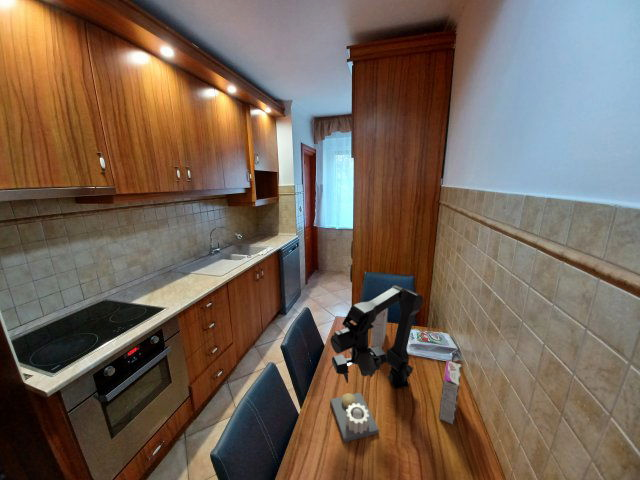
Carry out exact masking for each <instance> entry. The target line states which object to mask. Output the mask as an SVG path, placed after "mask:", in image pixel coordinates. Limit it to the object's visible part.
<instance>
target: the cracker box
mask: <svg viewBox="0 0 640 480" xmlns="http://www.w3.org/2000/svg"><path fill="white" fill-rule="evenodd" d="M388 308H389V307H388ZM388 308H387V309H385V310H384V311H382V312H380V313H379V314H378V315H377V316H376V319H375V321H374V322H373V323H372V325H373V326H374V327H373V328H371V345H370V346H371V348H373V347H378V346H379V347H381V349H382V350H383V347H384V344H385V341H386V340H385V339H386V336H387V325H388V324H387V323H388V312H389V309H388Z"/></svg>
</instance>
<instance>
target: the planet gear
mask: <svg viewBox="0 0 640 480" xmlns="http://www.w3.org/2000/svg"><path fill="white" fill-rule="evenodd" d="M355 409H359V410H361V412H362V419H359V420H358V419H355V418H353V411H354V410H355ZM346 425H347V426H349V430H350V431H354V433H356V434H357V432H360V434H361V433H363V431H366V430H367V427H368V425H369V414H368V410H366V409H365V406H364V405H363V406H361V405H360V404H359V403H358V404H357V405H356V404H355V403H353V404H352V406H350V405H349V406H348V409H346Z"/></svg>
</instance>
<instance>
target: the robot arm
mask: <svg viewBox="0 0 640 480" xmlns="http://www.w3.org/2000/svg"><path fill="white" fill-rule="evenodd" d="M396 303H398V306H399V310H400V315H399V319H398V324H397V329H396V333H395V338H394V342H393V345H392V346H391V347H390V348H387V349H386V351H384V350H383V348H382V349H381V347H379V346H378V347H370V346H369V334H370V333H369V330H372V328H373V327H374V326H373V325H372V323H373V322H374V321H375V319H376V316H377V315H378V314H379V313H380V312H382V311H384V310H385V309H387V308H390V307H391V306H393V305H394V304H396ZM423 304H424V297H423V295H421V294H419V293H418V292H415V291H413V290H411V289H409V288H404V287H402V286H399V285H398V284H397V285H396V284H394V285H392V286H391V288H389V289H387V290H386V291H385V292H383V293H381V294H380V295H378V296H376V297H375V298H373V299H371V300H369V301H360V302H358V303H355V304H354V305H352V306H351V307H350V309H349V311H348V313H347V314H346V316H345V318H344V320H343V322H342V324H341V325H342V326H344V328H342V329H340V330H336V331H334V333H333V334H332V335H331V337H330V345H331V348H332V349H333V351H334V352H335V354H337V355H333V356H332V358H331V364H332V366H333V367H334V368H333V369H334V370H335V373H336V374H339V375H343V377H344V379H345V382H346V384H349V372H350V371H349V366H352V365H357V367H358V368H359V373H360V374H361V376H363V377H367V376H369V377H370V378H373V375H375V373H376V371H380V370H381V367H382V365H384V364H385V363H387V365H388V366H389V367H390V371H389V375H387V379H388V380H389V382H390V383H391V384H392V385H393V387H394V388H395V389H396V390H397V389H401V388H406V387H410V386H411V384H410V383H409V381H408V380H409V378H410V376H411V374H413V370H414V368H413V367H412V366H411V365H410V364H409V363H410V356H409V352H408V350H407V349H408V345H409V341H410V336H411V332H412V327H413V322H414V318H415V315H416V314H417V313H419V311H420V310H421V308H422V306H423ZM351 321H352V322H353V323H355V324H353V323H352V322H351ZM348 350H349V354H350V356H351V357H348V358H346V357H345V356H344V354H343V352H345V351H348ZM341 353H342V354H341Z"/></svg>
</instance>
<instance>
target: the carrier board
mask: <svg viewBox="0 0 640 480" xmlns="http://www.w3.org/2000/svg"><path fill="white" fill-rule="evenodd" d="M353 403H355V404H356V405H357V404H358V403H359V404H360V405H361V406H363V405H364V406H365V409H366V410H368V414H369V425H368V427H367V430H366V431H363V433H361V434H360V432H357V434H356V433H354V431H350V430H349V426H347V425H346V409H348V406H349V405H350V406H352V404H353ZM330 405H331V408H332V411H333V414H334V417H335V420H336V423H337V425H338V429H339V431H340V435H341V437H342V440H343V443H347V442H350V441H351V442H352V441H354V440H358V439H362V438H365V437H369V436H373V435H376V434H379V432H380V429H379V426H378V424H377V422H376V420H375V419H374V416H373V415H372V413H371V410H370V409H369V407H368V405H367V403H366V401H365V399H364V397H363V394H362V393H361V392H357V393H350V392H349V393H344V394H343V395H342V396H338V397H334V398H331V399H330ZM353 418H355V419H358V420H359V419H362V412H361V410H359V409H355V410H354V411H353Z"/></svg>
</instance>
